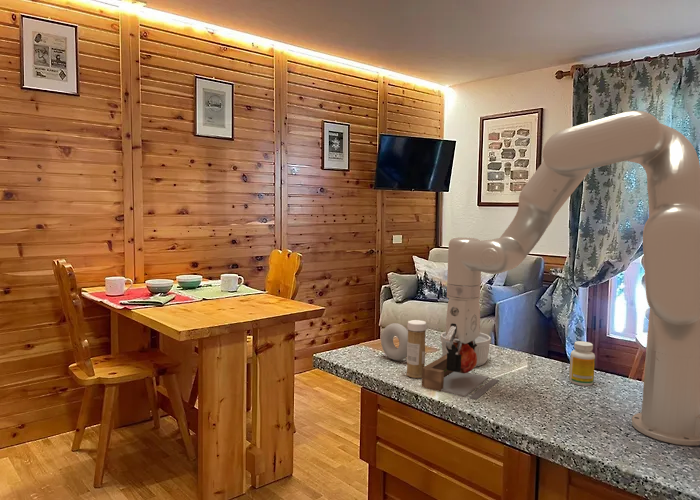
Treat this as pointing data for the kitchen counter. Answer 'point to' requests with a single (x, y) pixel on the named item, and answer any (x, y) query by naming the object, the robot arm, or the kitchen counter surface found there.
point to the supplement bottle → (582, 364)
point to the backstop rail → (435, 374)
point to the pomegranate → (467, 357)
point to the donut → (388, 343)
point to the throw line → (484, 389)
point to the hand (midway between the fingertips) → (460, 365)
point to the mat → (462, 383)
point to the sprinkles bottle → (416, 348)
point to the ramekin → (480, 349)
